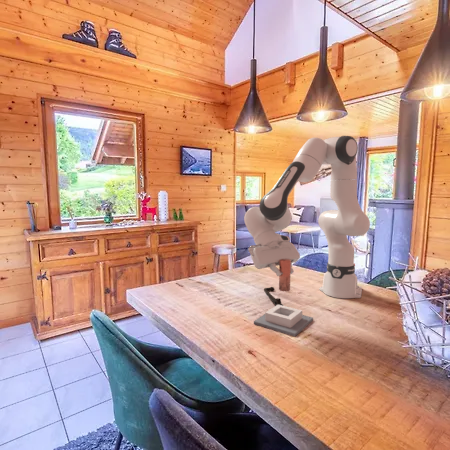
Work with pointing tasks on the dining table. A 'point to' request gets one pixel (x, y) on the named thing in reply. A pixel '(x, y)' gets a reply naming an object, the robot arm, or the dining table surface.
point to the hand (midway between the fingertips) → (286, 274)
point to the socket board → (285, 329)
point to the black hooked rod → (275, 301)
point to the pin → (284, 274)
